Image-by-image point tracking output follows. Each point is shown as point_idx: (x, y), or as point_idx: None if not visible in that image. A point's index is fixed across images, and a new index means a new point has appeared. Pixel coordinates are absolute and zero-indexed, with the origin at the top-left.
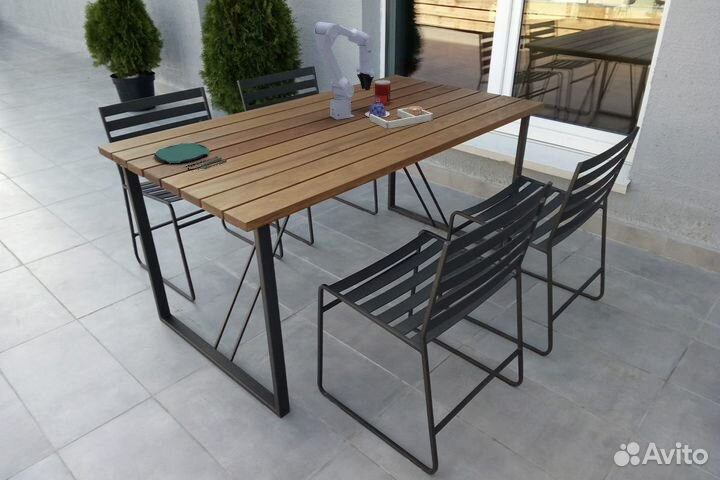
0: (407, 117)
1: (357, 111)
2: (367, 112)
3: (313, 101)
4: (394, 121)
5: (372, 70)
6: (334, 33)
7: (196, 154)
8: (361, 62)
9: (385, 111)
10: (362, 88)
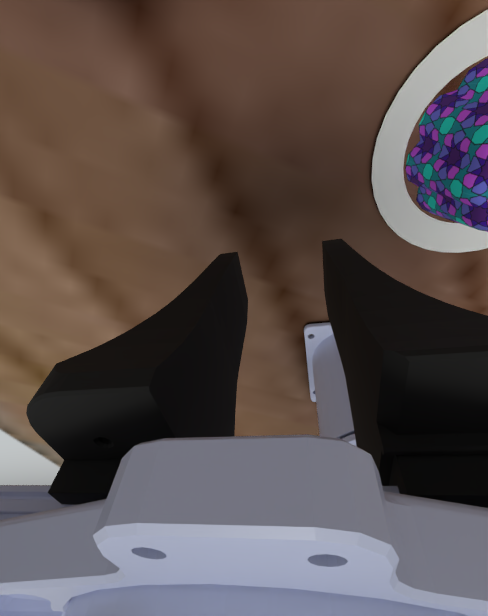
0: None
1: (296, 256)
2: (385, 210)
3: (14, 378)
4: None
5: (387, 516)
6: None
7: None
8: None
9: (484, 15)
10: (247, 304)
